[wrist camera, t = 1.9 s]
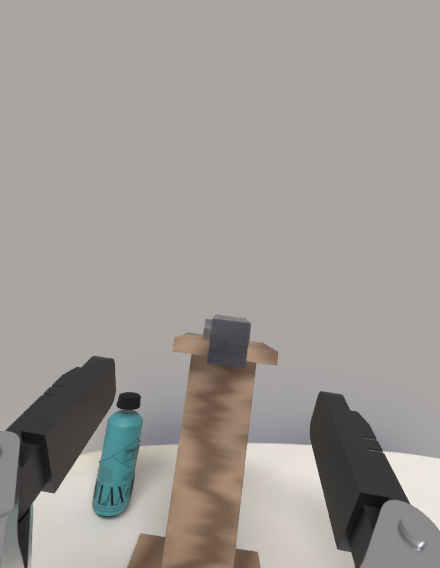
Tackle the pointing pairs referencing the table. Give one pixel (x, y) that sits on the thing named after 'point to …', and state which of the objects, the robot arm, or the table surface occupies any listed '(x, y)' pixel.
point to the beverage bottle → (118, 457)
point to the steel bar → (229, 341)
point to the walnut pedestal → (208, 464)
